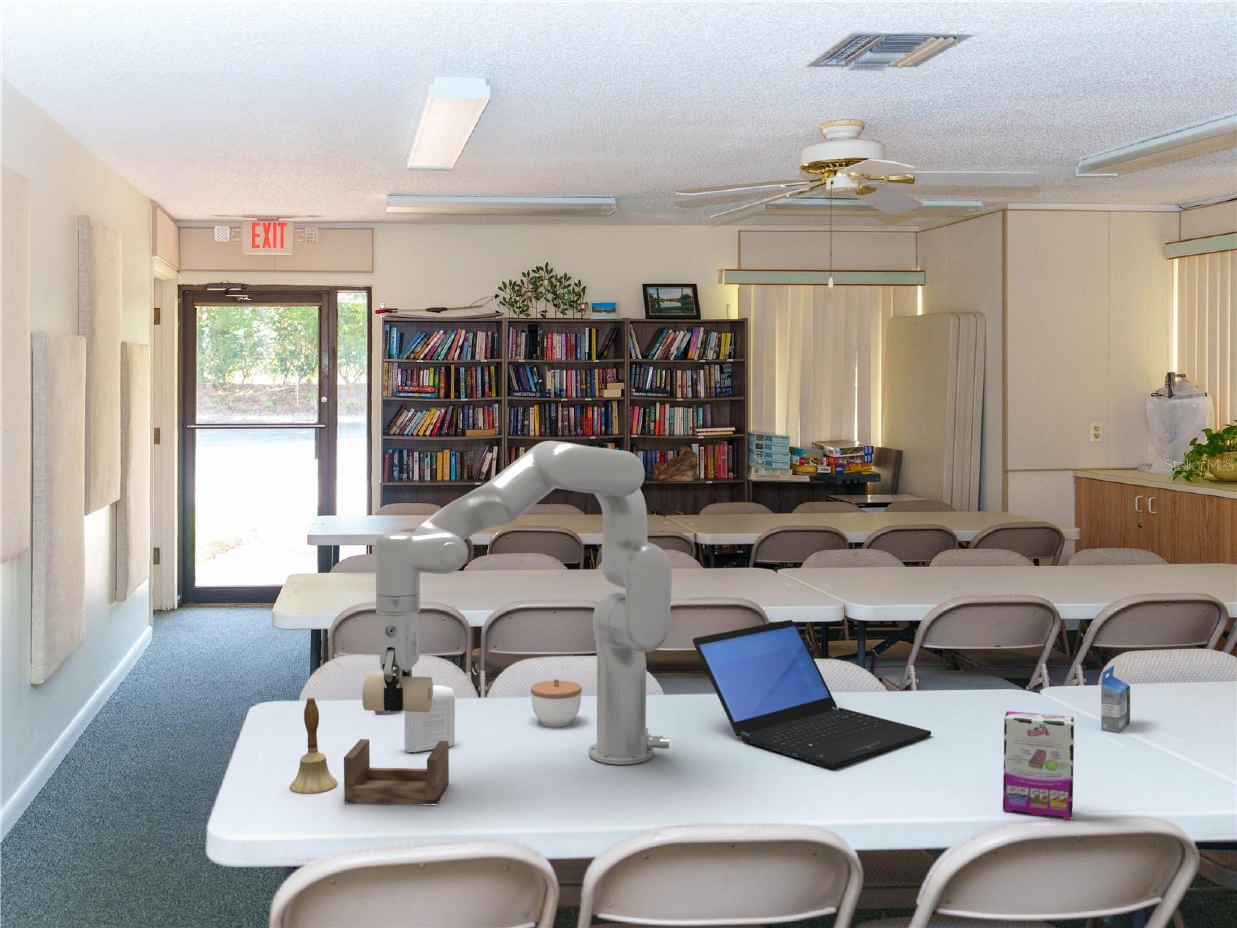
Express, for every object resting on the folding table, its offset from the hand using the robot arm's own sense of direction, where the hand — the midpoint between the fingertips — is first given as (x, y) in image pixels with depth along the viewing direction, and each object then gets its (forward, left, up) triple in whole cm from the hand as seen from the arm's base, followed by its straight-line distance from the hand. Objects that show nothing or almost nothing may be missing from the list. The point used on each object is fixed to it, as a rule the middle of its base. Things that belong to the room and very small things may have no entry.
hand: (398, 704), depth 206 cm
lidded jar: (-23, -45, -16) cm, 53 cm away
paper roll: (0, 0, -1) cm, 1 cm away
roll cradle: (0, 0, -16) cm, 16 cm away
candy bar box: (-110, +1, -16) cm, 111 cm away
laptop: (-76, -42, -17) cm, 88 cm away
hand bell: (+16, -3, -16) cm, 23 cm away
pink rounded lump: (+15, -53, -16) cm, 57 cm away
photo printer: (0, -26, -16) cm, 30 cm away
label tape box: (-141, -50, -16) cm, 150 cm away
